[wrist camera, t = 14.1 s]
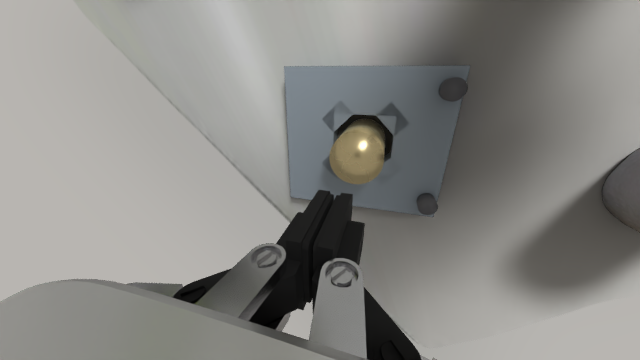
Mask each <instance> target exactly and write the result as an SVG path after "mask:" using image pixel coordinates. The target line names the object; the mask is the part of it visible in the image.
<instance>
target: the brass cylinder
mask: <svg viewBox="0 0 640 360" xmlns="http://www.w3.org/2000/svg"><path fill="white" fill-rule="evenodd" d="M384 152H385V133H384V130H383V128H382V127H381V126H380V125H379V124H378V123H377V122H375V121H373V120H371V119H359V120H356V121H354V122H353V123H351V124H350V125H349V126H348V128H347V129H346V130H345V131H344V132H343V133H342V134H341V136H340V137H339V138H338V139H337V140H336V141H335V143H334V144H333V146H332V148H331V150H330V155H329V160H330V165H331V168H332V170H333V172H334V173H335V174H336V175H337V176H338V177H339V178H340V179H341V180H343V181H345V182H347V183H350V184H364V183H367V182H370V181H372V180H373V179H374V178H376V177H377V176H378V175H379V173H380V172H381V170H382V167H383V164H384Z"/></svg>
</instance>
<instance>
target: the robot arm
mask: <svg viewBox="0 0 640 360" xmlns="http://www.w3.org/2000/svg"><path fill="white" fill-rule="evenodd" d="M352 203H353V194H348V193H341V194H340V195H336V197H335V199H334V194H331V193H330V191H326V190H318V191H317V193H316V194H315V196H314V197H313V199H312V201H311V202H310V204H309V205H308V207H307V208H306V210H305V211H304V213H301V212H299V213H297V214H296V216H295V217H294V219H293V220H292V222H291V223H290V224H289V226H288V227H287V229H286V230H285V232H284V233H283V235H282V236H281V237H280V239H279V240H278V242H277V243H276V244H273V243H266V244H262V245H259V246H257V247H255V248H254V249H252V250H251V251H250V252H249V253H248V254H247V255H246V256H245V257H244V258H243V259H242V260H241V261H240V262H238V263H237V264H236V265H235V266H234V267H233V268H232V269H229V270H226V271H223V272H220V273H217V274H214V275H212V276H209V277H206V278H203V279H200V280H198V281H195V282H192V283H190V284H188V285H186V286H184V287H183V286H182V284H163V283H129V284H122V283H117V282H112V281H105V280H97V279H71V280H61V281H54V282H49V283H44V284H40V285H36V286H33V287H30V288H27V289H25V290H23V291H20V292H18V293H16V294H14V295H12V296H10V297H8V298H7V299H5V300H3V301H1V302H0V360H429V359H427V358H425V357H423V356H421V355H420V354H419V352H418V351H417V349H416V348H415V346H414V345H413V344H412V343H411V341H410V340H409V339H408V338H407V337H406V336H405V334H404V333H403V332H402V331H401V330H400V329H399V327H398V326H397V325H396V324H395V323H394V321H393V320H392V319H391V318H390V317H389V316H388V314H387V313H386V312H385V311H384V310H383V309H382V307H381V306H380V305H379V304H378V303H377V302H376V300H375V299H374V298H373V297H372V296H371V294H370V293H369V292H368V291H367V290H366V289H365V287H364V281H363V273H362V270H361V268H360V267H359V263H360V257H361V251H362V245H363V236H364V226H365V223H361V222H355V221H351V217H352ZM312 298H313V320H312V325H311V331H310V337H309V340H306V339H302V338H299V337H296V336H293V335H290V334H287V333H283V332H282V330H283V328H284V327H285V325H286V323H287V322H288V320H289V317H290V312H292V311H294V310H296V309H297V308H298V309H301V310H304V307H305V304H306V302H309V303H310V302H311V300H312ZM432 360H437V359H435V358H433V359H432Z"/></svg>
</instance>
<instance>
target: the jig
mask: <svg viewBox="0 0 640 360" xmlns="http://www.w3.org/2000/svg"><path fill="white" fill-rule="evenodd" d="M469 69H470V65H441V66H284V71H285V91H286V111H287V131H288V152H289V172H290V192H291V197H294V198H301V199H308V200H312V199H313V197H314V196H315V194H316V193H317V191H318V190H326V191H330V193H331V194H334V199H335V197H336V195H340V194H341V193H348V194H353V203H352V206H358V207H365V208H372V209H379V210H386V211H393V212H400V213H407V214H415V215H422V216H429V217H434V213H435V212H436V211H437V209H438V205H437V200H438V196H439V192H440V188H441V184H442V180H443V176H444V172H445V168H446V164H447V159H448V155H449V151H450V147H451V143H452V139H453V135H454V131H455V127H456V123H457V118H458V114H459V110H460V106H461V102H462V98H463V96H464V95H465V94H466V92H467V83H466V82H467V77H468V73H469ZM353 114H357V115H376V116H377V117H378V118H379V119H380V121H381V122H382V123H383V124H384V125H385V126H386V128H387V129H388V130H389V131H390V132H391V133H392V135H393V138H392V145H391V152H390V153H388V154H387V155H386V156H384V164H383V167H382V170H381V172H380V173H379V175H378V176H377V177H376V178H374V179H373V180H372V181H370V182H367V183H364V184H350V183H347V182H345V181H343V180H341V179H340V178H339V177H338V176H337V175H336V174H335V173H334V172H333V170H332V168H331V165H330V160H329V155H330V150H331V148H332V146H333V144H334V143H335V141H336V140H337V139H338V128H339V127H340V126H341V125H342V124H343V123H344V122H345V121H346V120H347V119H348V118H350V117H351V116H352V115H353Z"/></svg>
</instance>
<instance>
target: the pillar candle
mask: <svg viewBox="0 0 640 360" xmlns="http://www.w3.org/2000/svg"><path fill="white" fill-rule="evenodd" d="M602 195H603V202H604V204H605V206H606V208H607V209H608V210H609V211H610V212H611V213H612V214H613V215H614V216H616V217H617V218H618V219H619V220H620V221H621V222H622V223H624V224H626V225H628V226H629V227H631V228H633V229H635V230H636V231H638V232H640V148H639V149H637V150H636V151H634V152H633V153H632V154H630V155H629V156H628V157H627V158H626V159H625V160H624V161H623V162H622V163H621V164H620V165H619V166H618V167H617V168H616V169H615V170H614V171H613V172H612V173H611V174H610V175H609V176H608V178H607V179H606V181H605V184H604V186H603V189H602Z"/></svg>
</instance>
